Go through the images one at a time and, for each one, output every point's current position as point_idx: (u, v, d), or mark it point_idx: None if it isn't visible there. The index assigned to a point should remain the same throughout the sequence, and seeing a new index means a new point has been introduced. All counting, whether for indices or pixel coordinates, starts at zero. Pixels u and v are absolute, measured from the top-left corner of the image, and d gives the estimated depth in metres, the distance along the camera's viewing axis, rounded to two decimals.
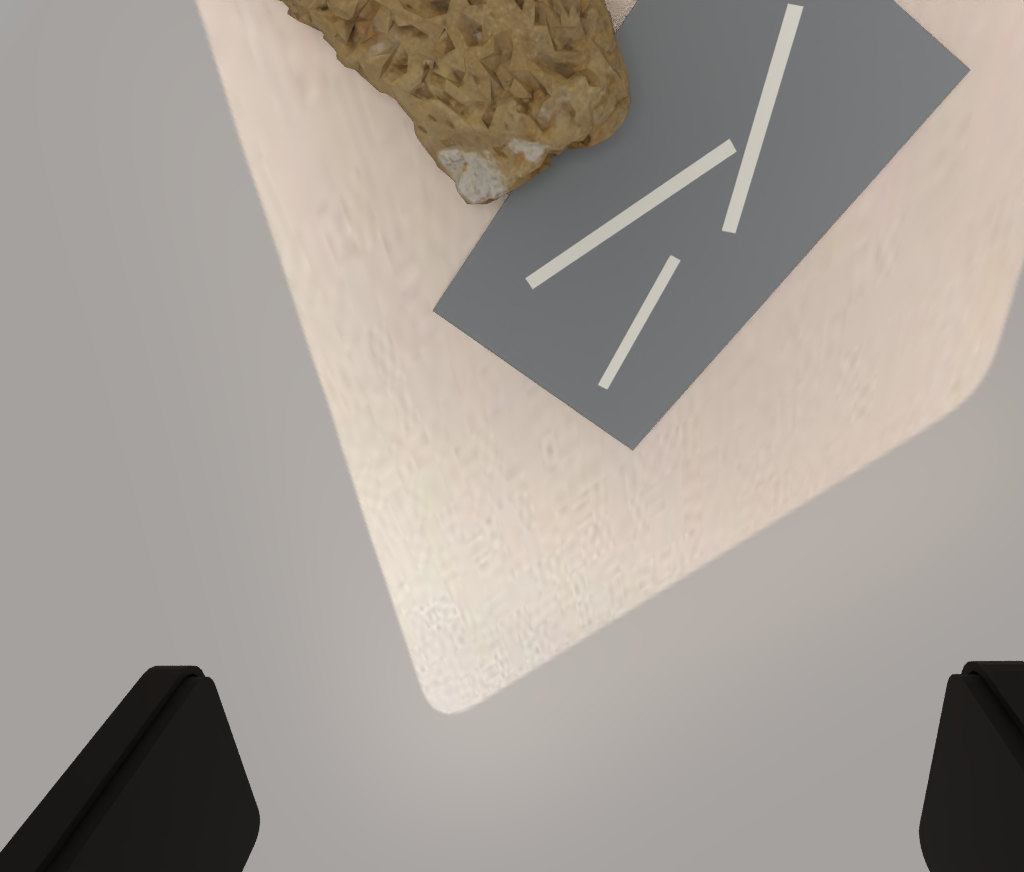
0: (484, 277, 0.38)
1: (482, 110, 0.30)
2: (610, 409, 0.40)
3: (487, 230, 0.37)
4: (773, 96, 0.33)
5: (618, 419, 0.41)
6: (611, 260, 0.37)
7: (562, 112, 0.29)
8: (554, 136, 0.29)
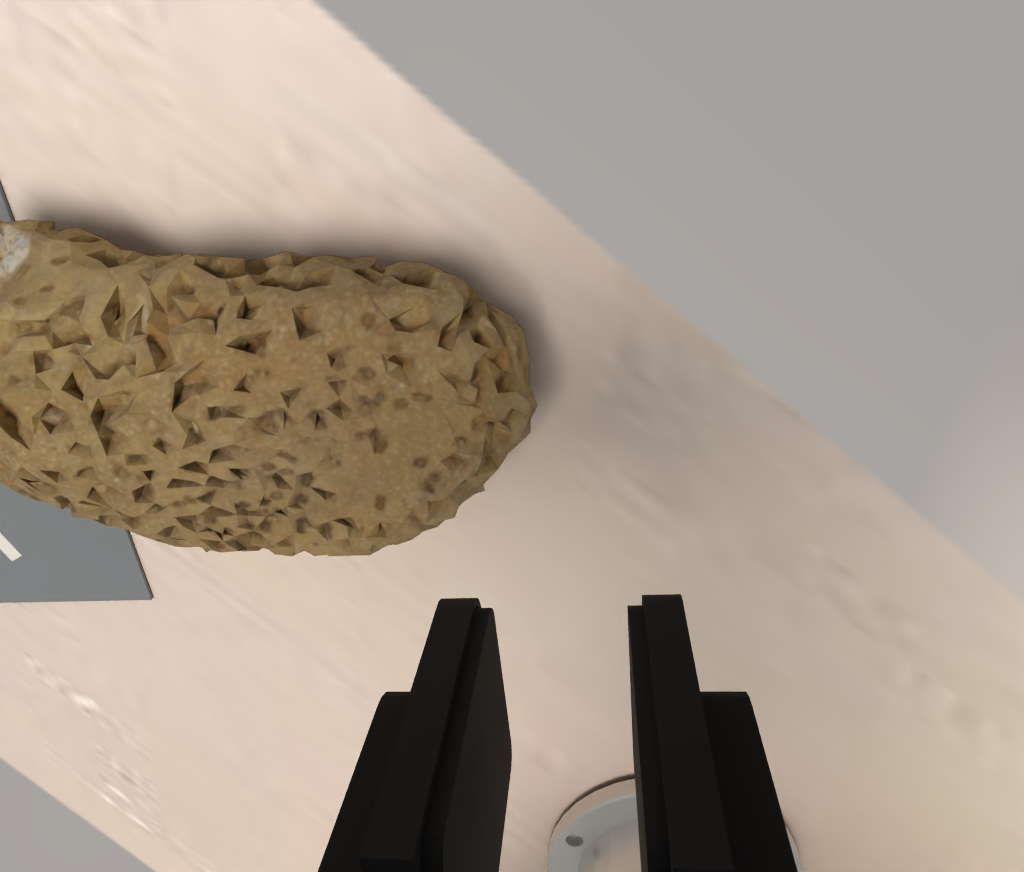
0: None
1: None
2: None
3: None
4: None
5: None
6: None
7: None
8: None
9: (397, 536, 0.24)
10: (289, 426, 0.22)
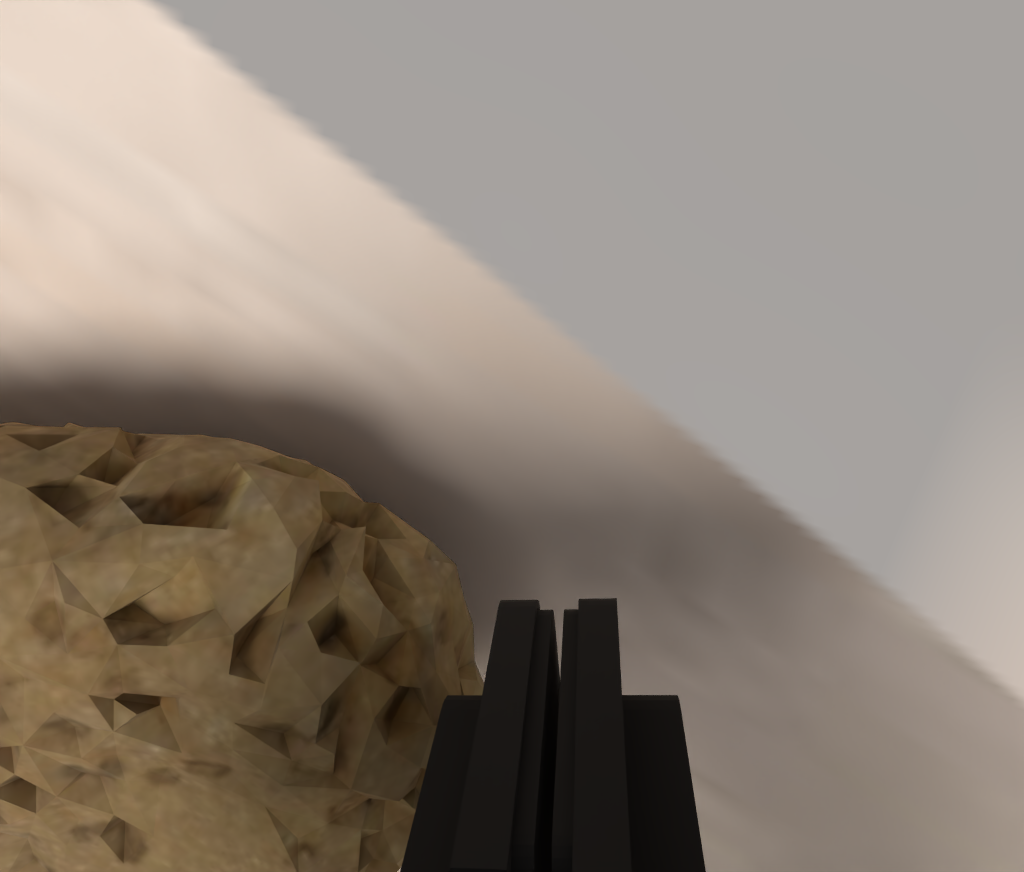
0: None
1: None
2: None
3: None
4: None
5: None
6: None
7: None
8: None
9: None
10: None
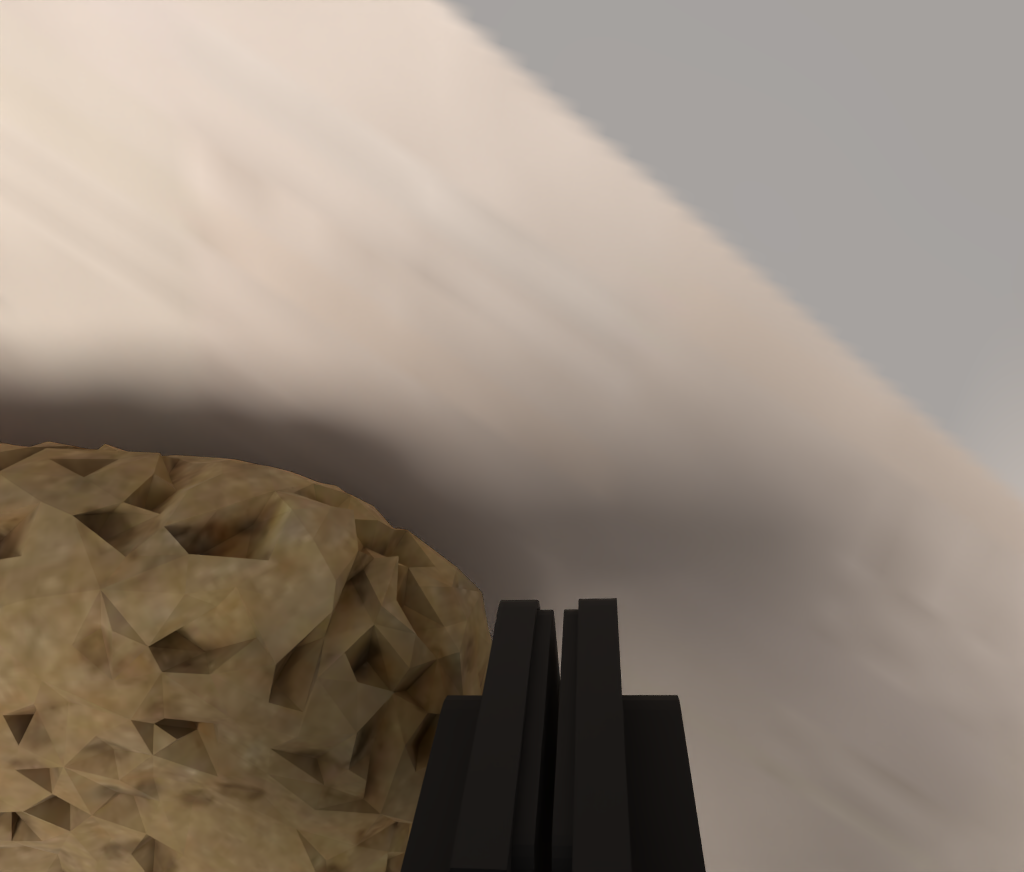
0: None
1: None
2: None
3: None
4: None
5: None
6: None
7: None
8: None
9: None
10: None
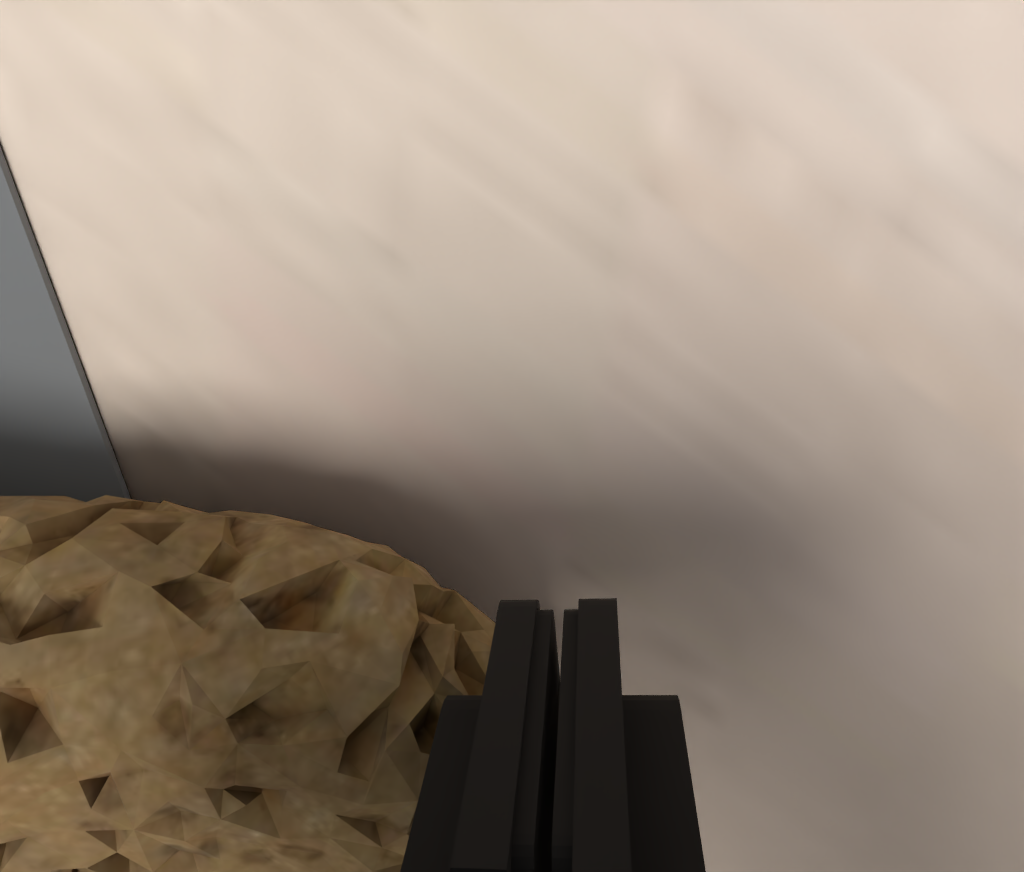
0: None
1: None
2: None
3: (2, 177, 0.12)
4: None
5: None
6: None
7: None
8: None
9: None
10: None
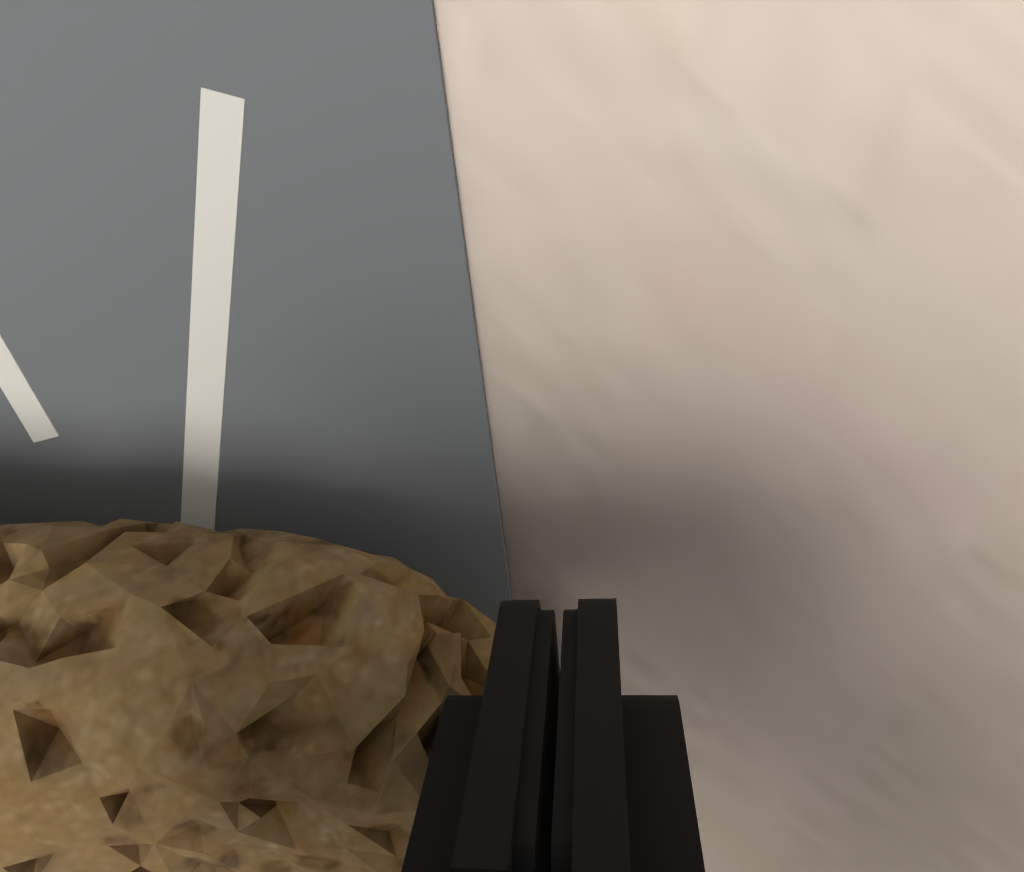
0: None
1: None
2: None
3: (444, 135, 0.11)
4: None
5: None
6: (135, 324, 0.13)
7: None
8: None
9: None
10: None
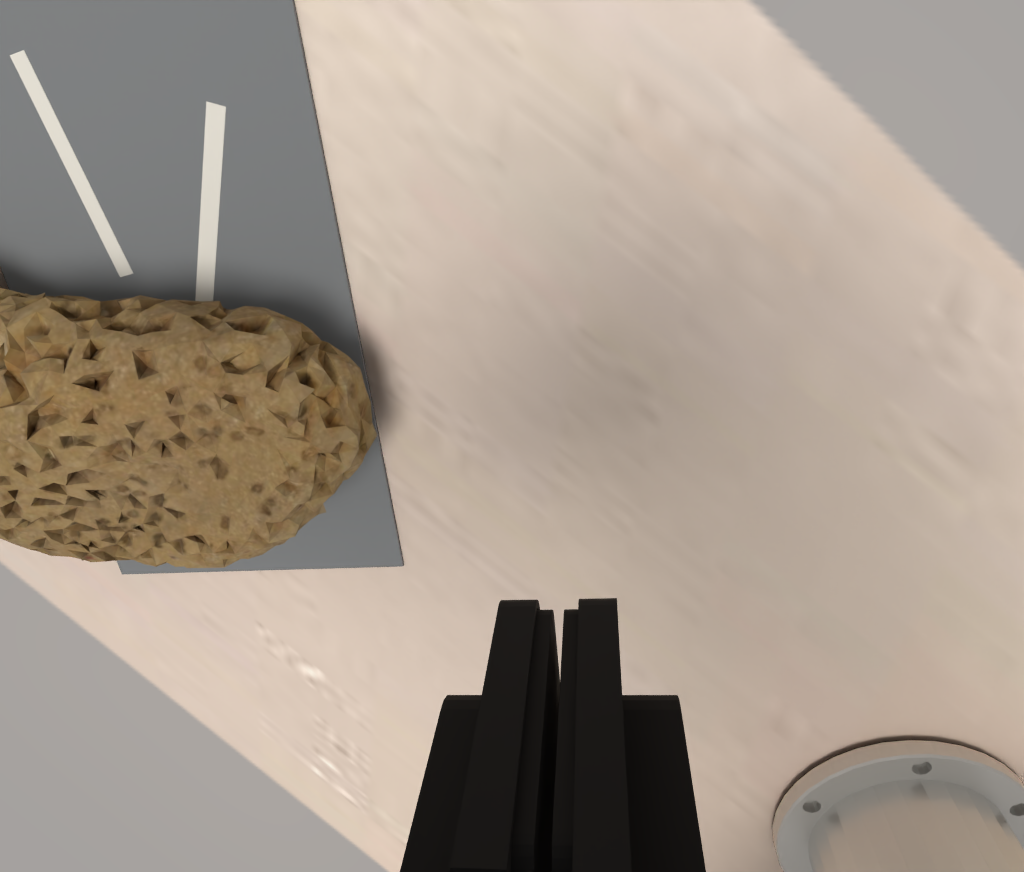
0: (266, 60, 0.24)
1: None
2: None
3: (314, 124, 0.25)
4: None
5: None
6: (173, 214, 0.27)
7: None
8: None
9: (245, 552, 0.26)
10: (137, 453, 0.24)
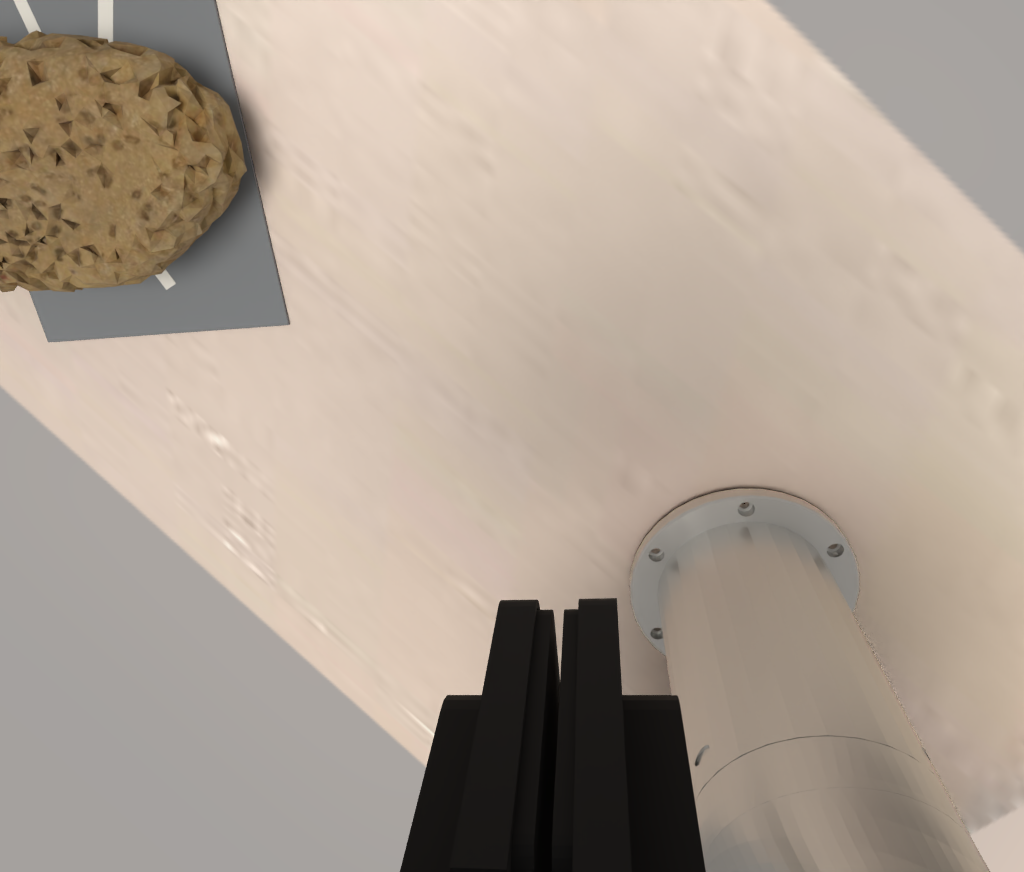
0: None
1: None
2: None
3: None
4: None
5: None
6: None
7: None
8: None
9: (132, 264, 0.31)
10: (35, 160, 0.29)
